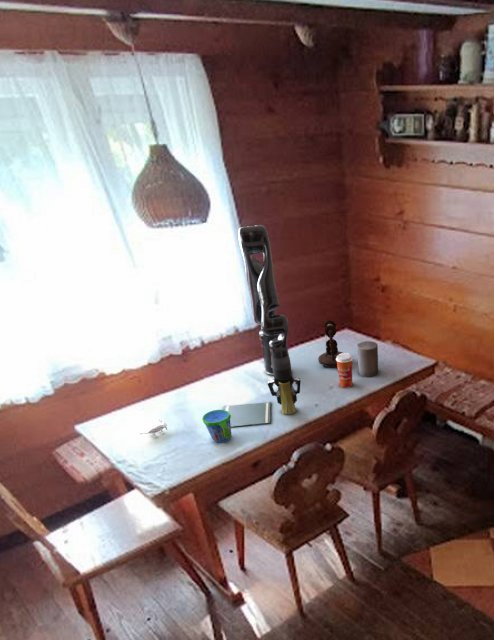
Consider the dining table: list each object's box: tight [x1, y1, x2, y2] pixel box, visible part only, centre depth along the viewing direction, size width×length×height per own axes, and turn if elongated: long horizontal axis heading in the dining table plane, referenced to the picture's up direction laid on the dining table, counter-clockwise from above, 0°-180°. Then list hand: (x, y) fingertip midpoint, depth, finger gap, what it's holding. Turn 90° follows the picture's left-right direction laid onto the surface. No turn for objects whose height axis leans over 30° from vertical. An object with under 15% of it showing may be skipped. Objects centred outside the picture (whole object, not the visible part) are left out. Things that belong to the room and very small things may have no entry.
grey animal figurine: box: [139, 419, 169, 438], centre depth 206 cm, size 12×5×5 cm, turn 141°
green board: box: [223, 401, 272, 428], centre depth 218 cm, size 18×20×1 cm
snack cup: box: [201, 409, 232, 443], centre depth 201 cm, size 16×10×10 cm
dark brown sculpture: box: [317, 319, 344, 368], centre depth 250 cm, size 15×15×20 cm
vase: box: [278, 381, 297, 415], centre depth 216 cm, size 6×6×14 cm
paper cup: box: [336, 352, 354, 389], centre depth 233 cm, size 8×8×14 cm
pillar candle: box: [356, 340, 380, 378], centre depth 242 cm, size 10×10×15 cm
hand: (287, 402), depth 218 cm, fingers closed on vase, 5 cm apart
